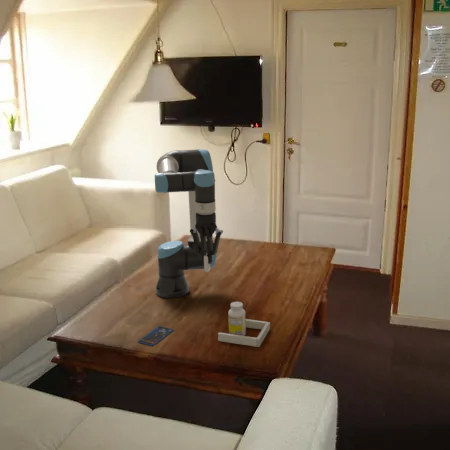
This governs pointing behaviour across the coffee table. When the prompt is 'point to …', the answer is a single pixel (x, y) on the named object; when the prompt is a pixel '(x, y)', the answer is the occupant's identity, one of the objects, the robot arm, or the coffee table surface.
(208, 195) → the robot arm
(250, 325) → the corral
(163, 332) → the smartphone
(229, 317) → the supplement bottle
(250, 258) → the coffee table surface
